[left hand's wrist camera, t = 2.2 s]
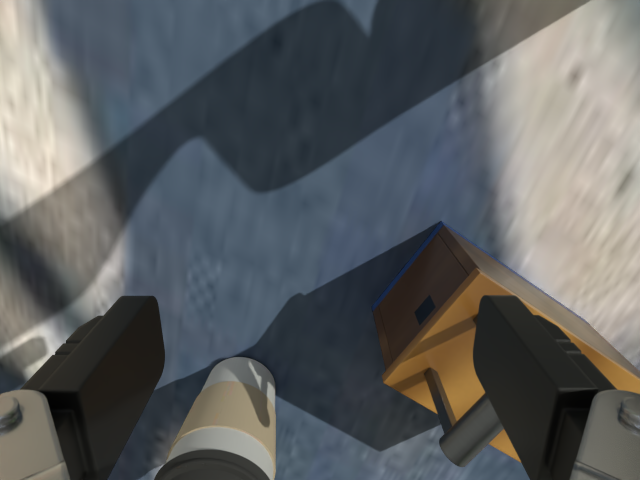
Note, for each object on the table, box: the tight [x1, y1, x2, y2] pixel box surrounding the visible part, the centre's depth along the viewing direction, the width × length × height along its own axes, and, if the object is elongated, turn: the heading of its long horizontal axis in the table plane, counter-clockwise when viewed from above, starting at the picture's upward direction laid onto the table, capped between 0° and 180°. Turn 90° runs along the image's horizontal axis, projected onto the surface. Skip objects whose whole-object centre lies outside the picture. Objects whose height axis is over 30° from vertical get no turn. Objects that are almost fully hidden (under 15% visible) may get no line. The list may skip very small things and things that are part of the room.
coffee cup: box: [154, 357, 276, 480], centre depth 38 cm, size 9×9×15 cm
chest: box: [372, 221, 640, 378], centre depth 37 cm, size 18×10×10 cm, turn 56°
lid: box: [382, 268, 640, 467], centre depth 28 cm, size 18×10×8 cm, turn 56°
